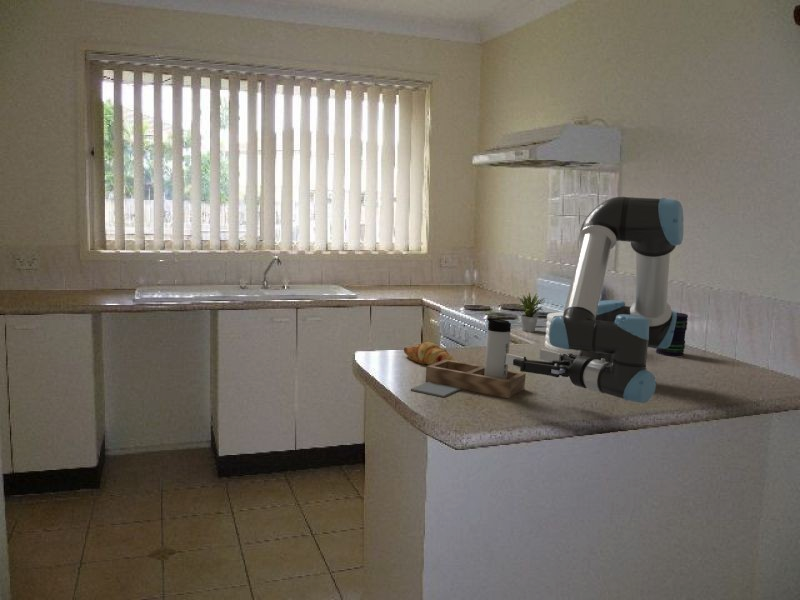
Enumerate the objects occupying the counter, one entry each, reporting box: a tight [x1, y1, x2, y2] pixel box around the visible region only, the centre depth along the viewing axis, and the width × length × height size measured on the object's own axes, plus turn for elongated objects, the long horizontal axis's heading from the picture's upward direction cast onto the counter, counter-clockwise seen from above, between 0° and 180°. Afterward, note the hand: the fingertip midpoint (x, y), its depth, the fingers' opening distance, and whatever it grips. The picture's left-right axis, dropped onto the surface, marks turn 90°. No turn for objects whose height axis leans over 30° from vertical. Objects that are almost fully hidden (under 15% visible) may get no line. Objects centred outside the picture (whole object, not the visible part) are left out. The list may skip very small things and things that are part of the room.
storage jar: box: [655, 312, 689, 357], centre depth 258 cm, size 10×10×15 cm
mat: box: [410, 382, 462, 398], centre depth 190 cm, size 10×10×1 cm
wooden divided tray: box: [425, 359, 526, 399], centre depth 197 cm, size 25×12×4 cm, turn 59°
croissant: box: [403, 340, 456, 366], centre depth 223 cm, size 21×10×8 cm, turn 48°
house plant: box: [515, 292, 547, 333], centre depth 289 cm, size 14×14×16 cm
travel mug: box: [484, 316, 512, 380], centre depth 193 cm, size 6×7×20 cm
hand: (523, 356), depth 186 cm, fingers open, 13 cm apart
